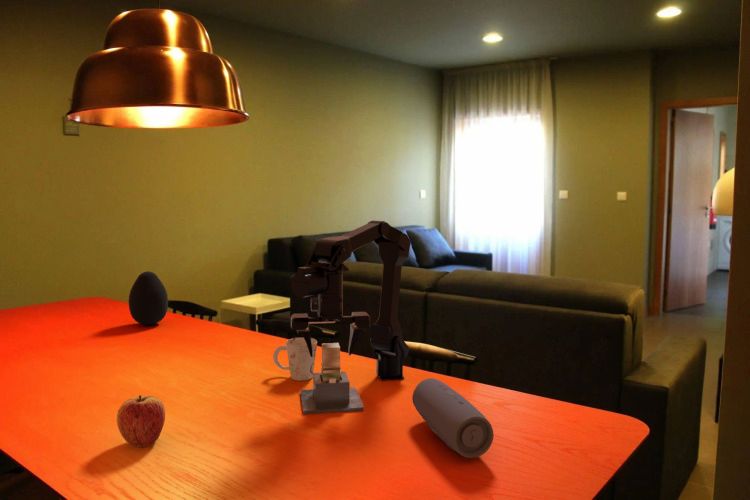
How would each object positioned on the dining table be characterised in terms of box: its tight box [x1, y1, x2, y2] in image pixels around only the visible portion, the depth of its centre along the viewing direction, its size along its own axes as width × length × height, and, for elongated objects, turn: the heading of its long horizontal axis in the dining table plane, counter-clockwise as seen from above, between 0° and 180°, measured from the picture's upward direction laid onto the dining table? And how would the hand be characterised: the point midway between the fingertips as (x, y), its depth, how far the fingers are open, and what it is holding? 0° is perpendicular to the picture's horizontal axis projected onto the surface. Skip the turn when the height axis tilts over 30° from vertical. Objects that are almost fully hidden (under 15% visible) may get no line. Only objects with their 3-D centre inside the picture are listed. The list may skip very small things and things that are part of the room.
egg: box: [128, 271, 169, 326], centre depth 217 cm, size 14×14×20 cm
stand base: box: [300, 371, 365, 415], centre depth 142 cm, size 14×14×7 cm
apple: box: [116, 395, 166, 447], centre depth 118 cm, size 9×9×10 cm
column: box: [320, 342, 342, 381], centre depth 141 cm, size 4×4×9 cm
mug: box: [272, 337, 318, 382], centre depth 160 cm, size 8×13×10 cm, turn 78°
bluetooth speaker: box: [411, 378, 494, 459], centre depth 121 cm, size 23×9×10 cm, turn 17°
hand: (330, 355), depth 141 cm, fingers open, 9 cm apart
